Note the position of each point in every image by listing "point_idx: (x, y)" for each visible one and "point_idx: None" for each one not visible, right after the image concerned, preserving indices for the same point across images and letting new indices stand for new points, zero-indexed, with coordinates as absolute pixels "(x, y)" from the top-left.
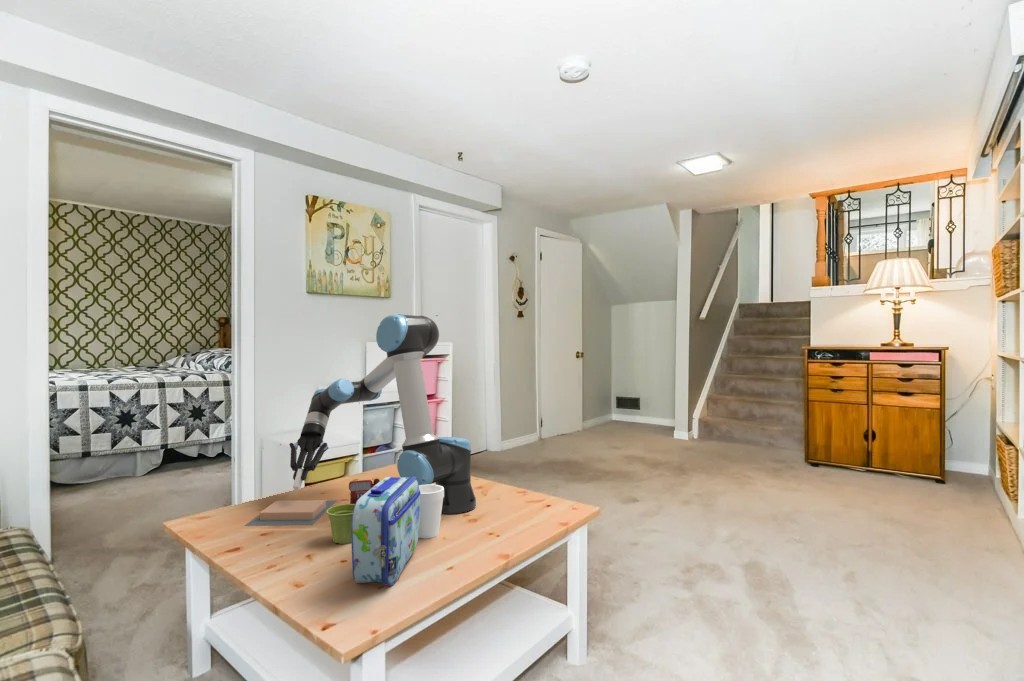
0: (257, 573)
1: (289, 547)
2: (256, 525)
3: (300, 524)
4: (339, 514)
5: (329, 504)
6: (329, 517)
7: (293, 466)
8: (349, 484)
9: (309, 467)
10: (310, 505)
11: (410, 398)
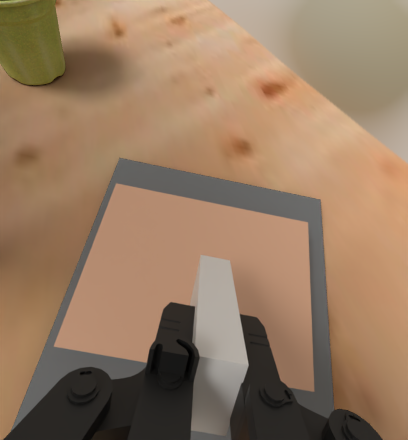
0: (193, 10)
1: (162, 70)
2: (285, 192)
3: (156, 170)
4: (20, 28)
5: None
6: None
7: (327, 420)
8: None
9: (113, 391)
10: (130, 268)
11: None
